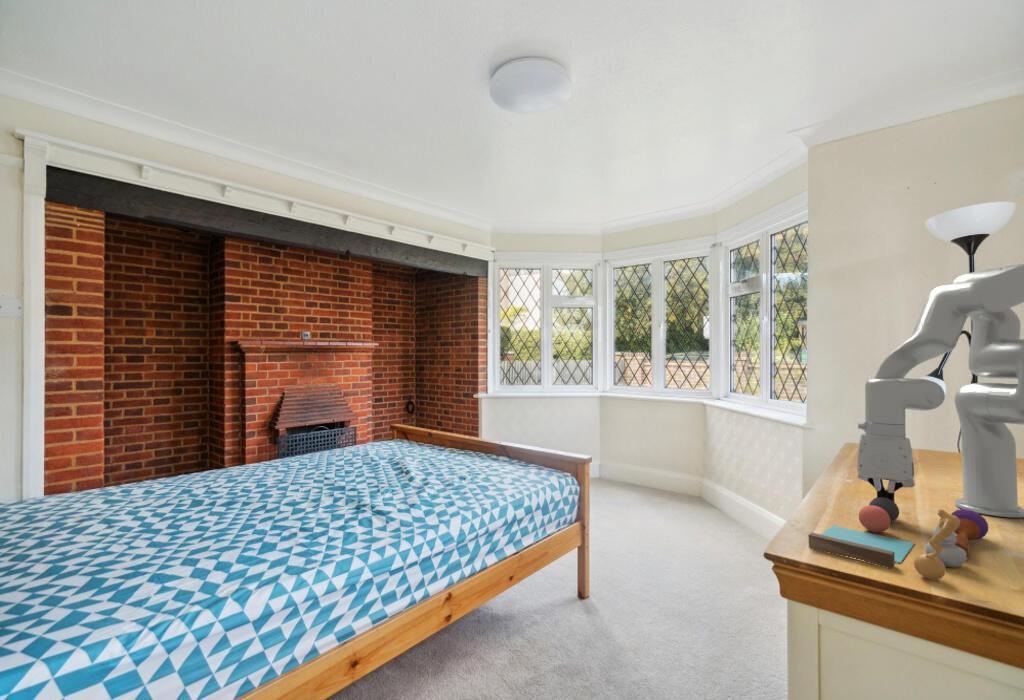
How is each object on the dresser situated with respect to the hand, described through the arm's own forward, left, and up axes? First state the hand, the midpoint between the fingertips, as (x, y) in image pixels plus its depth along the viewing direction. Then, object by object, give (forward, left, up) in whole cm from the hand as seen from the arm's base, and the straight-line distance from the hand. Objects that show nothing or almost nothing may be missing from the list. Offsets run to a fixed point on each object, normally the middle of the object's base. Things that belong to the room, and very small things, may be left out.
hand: (885, 508), depth 111 cm
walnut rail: (+34, +1, -2) cm, 34 cm away
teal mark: (+24, +1, -2) cm, 24 cm away
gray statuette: (+25, +13, -2) cm, 28 cm away
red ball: (+14, +1, +1) cm, 14 cm away
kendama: (+10, +14, -3) cm, 18 cm away
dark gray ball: (+4, 0, +1) cm, 4 cm away
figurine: (+35, +13, -2) cm, 37 cm away
